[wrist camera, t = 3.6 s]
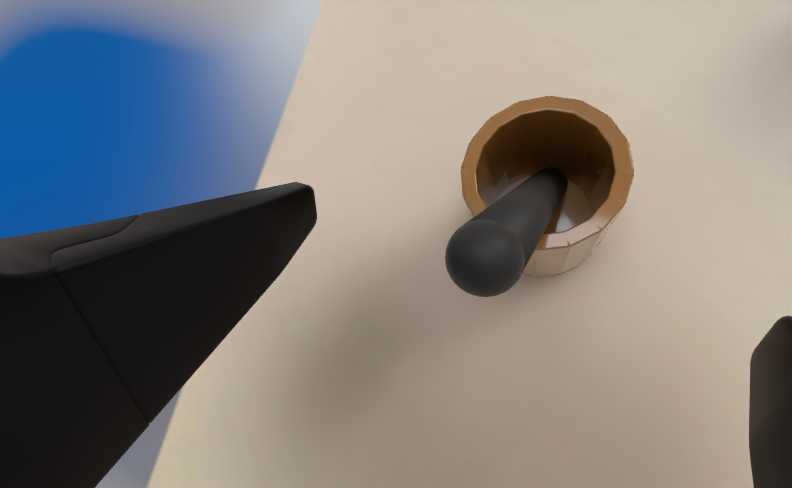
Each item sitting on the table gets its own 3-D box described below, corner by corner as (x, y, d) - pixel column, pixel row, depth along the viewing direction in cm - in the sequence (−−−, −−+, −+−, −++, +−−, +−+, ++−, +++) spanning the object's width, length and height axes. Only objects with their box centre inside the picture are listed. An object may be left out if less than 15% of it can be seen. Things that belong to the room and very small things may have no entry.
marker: (525, 324, 15) (508, 304, 6) (491, 312, 16) (426, 277, 6) (570, 178, 16) (620, -48, 7) (536, 171, 16) (537, -49, 7)
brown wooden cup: (583, 291, 16) (606, 270, 10) (468, 257, 17) (440, 224, 12) (616, 181, 16) (653, 109, 11) (501, 158, 18) (488, 86, 13)
